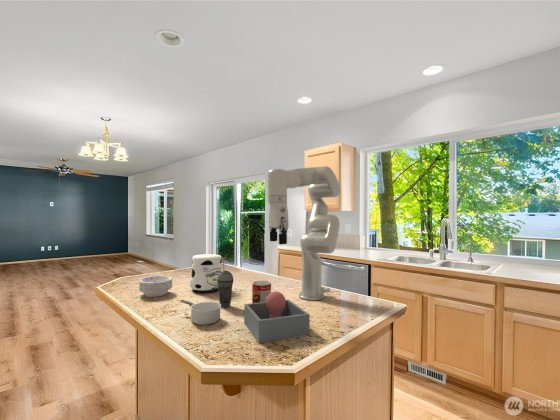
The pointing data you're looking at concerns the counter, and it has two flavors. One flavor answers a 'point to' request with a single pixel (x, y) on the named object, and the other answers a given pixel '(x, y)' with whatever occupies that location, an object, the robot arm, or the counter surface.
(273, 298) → the pink rounded bulb shape
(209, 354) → the counter surface
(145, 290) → the paper bowls
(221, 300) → the beverage cup
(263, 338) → the bin
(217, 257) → the milk container
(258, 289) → the canned food
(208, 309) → the saucepan
